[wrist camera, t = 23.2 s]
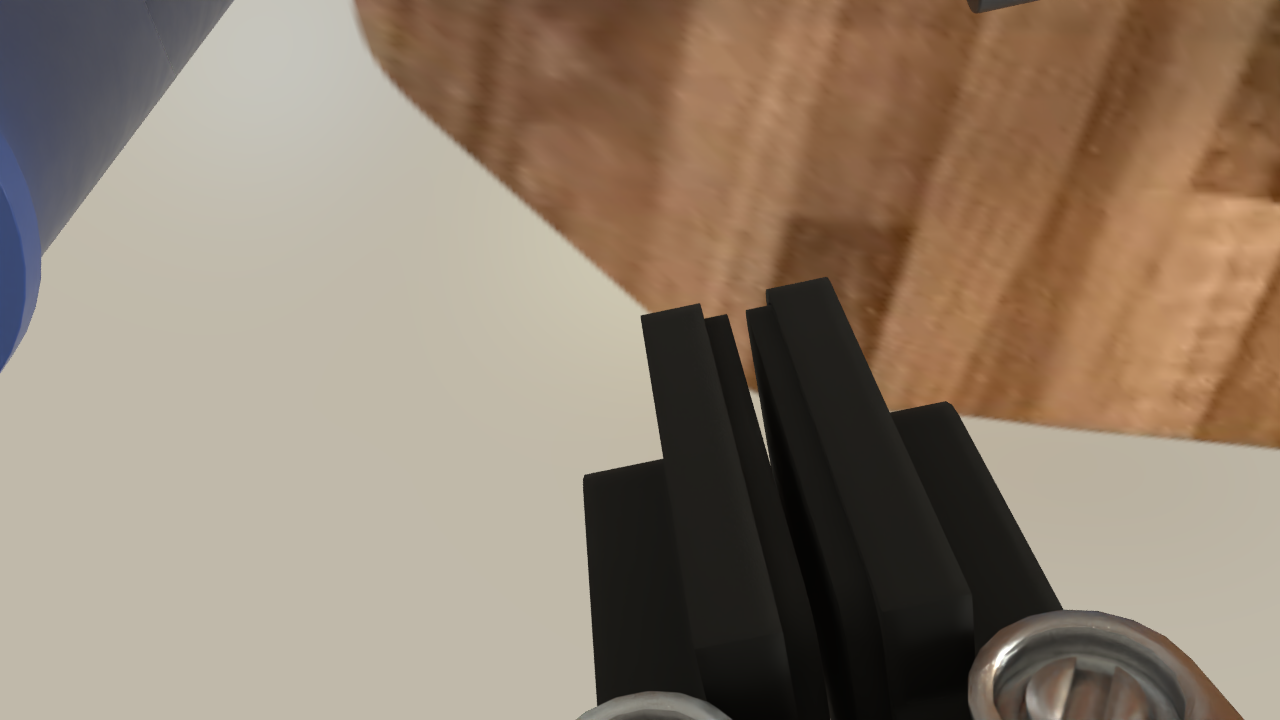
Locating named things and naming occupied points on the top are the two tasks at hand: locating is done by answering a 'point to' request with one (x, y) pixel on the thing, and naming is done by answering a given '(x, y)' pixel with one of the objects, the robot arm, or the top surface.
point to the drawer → (993, 4)
